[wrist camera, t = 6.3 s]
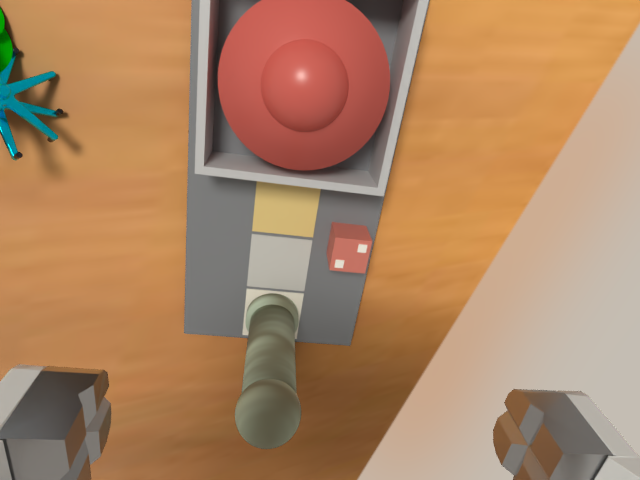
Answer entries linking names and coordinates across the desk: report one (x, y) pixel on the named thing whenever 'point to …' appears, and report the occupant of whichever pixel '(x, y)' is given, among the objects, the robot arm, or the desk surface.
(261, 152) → the dome
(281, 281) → the game board
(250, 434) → the pawn
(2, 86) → the stick construction toy
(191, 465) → the desk surface
